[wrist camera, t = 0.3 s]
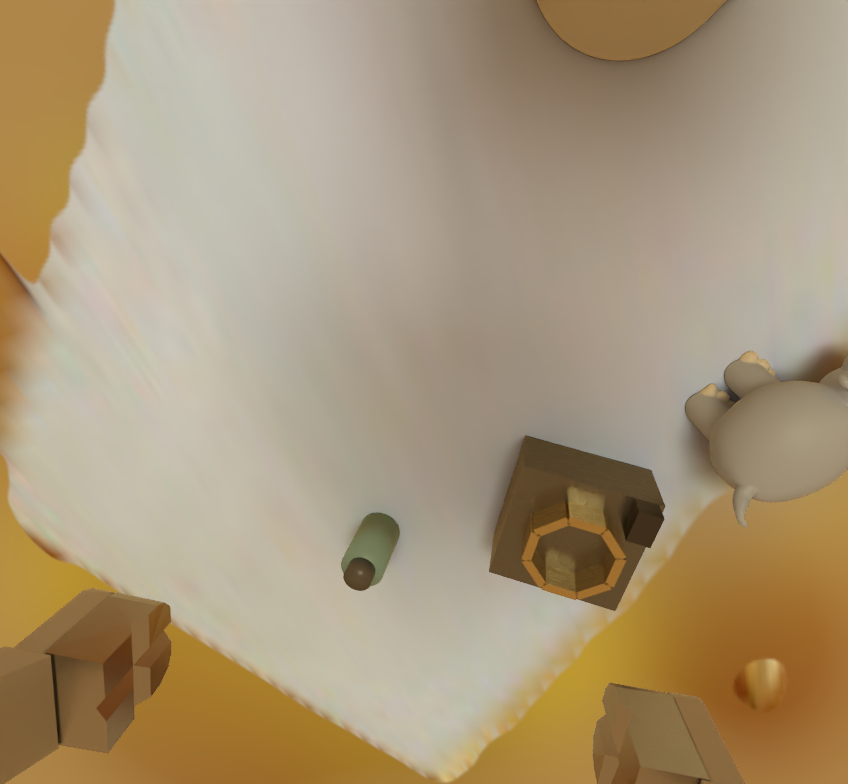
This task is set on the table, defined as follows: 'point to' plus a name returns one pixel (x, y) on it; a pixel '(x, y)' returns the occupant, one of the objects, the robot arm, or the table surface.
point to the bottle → (370, 551)
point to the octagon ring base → (575, 522)
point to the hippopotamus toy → (774, 432)
